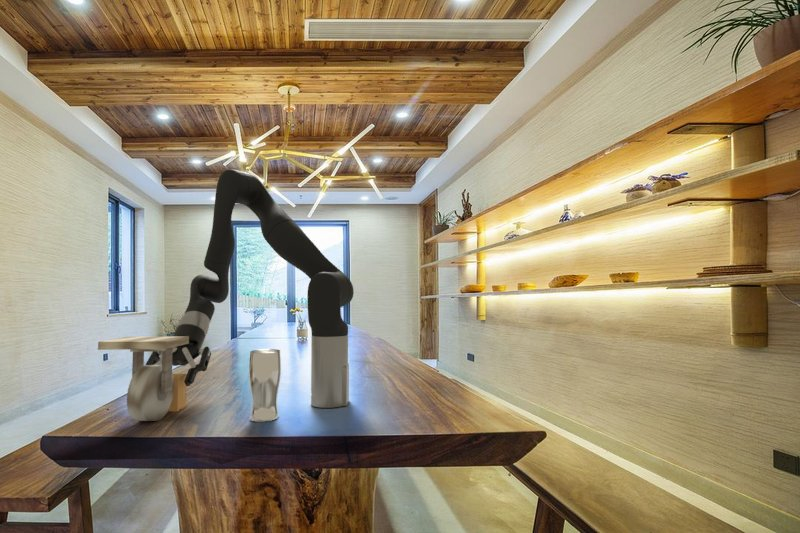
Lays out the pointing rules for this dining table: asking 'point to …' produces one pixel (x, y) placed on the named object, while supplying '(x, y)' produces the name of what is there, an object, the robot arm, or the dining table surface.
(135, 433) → the dining table surface
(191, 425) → the dining table surface
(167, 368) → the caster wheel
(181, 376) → the orange tan block
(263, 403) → the beer glass
